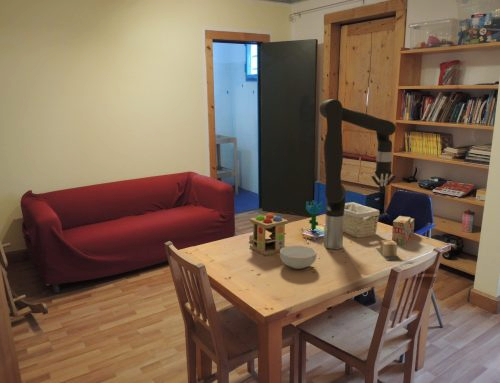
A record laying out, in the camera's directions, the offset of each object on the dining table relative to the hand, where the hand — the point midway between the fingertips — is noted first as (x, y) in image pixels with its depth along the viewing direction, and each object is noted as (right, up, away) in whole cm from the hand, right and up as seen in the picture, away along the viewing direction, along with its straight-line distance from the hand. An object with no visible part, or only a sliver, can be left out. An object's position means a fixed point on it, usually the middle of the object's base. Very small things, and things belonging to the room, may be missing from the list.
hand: (382, 192), depth 218 cm
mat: (-1, -30, -12) cm, 33 cm away
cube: (-1, -27, -10) cm, 28 cm away
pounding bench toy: (-62, -28, 0) cm, 68 cm away
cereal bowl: (-47, -34, -25) cm, 63 cm away
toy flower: (-33, -23, +23) cm, 46 cm away
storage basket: (-9, -23, +24) cm, 34 cm away
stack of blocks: (+15, -25, +11) cm, 32 cm away
